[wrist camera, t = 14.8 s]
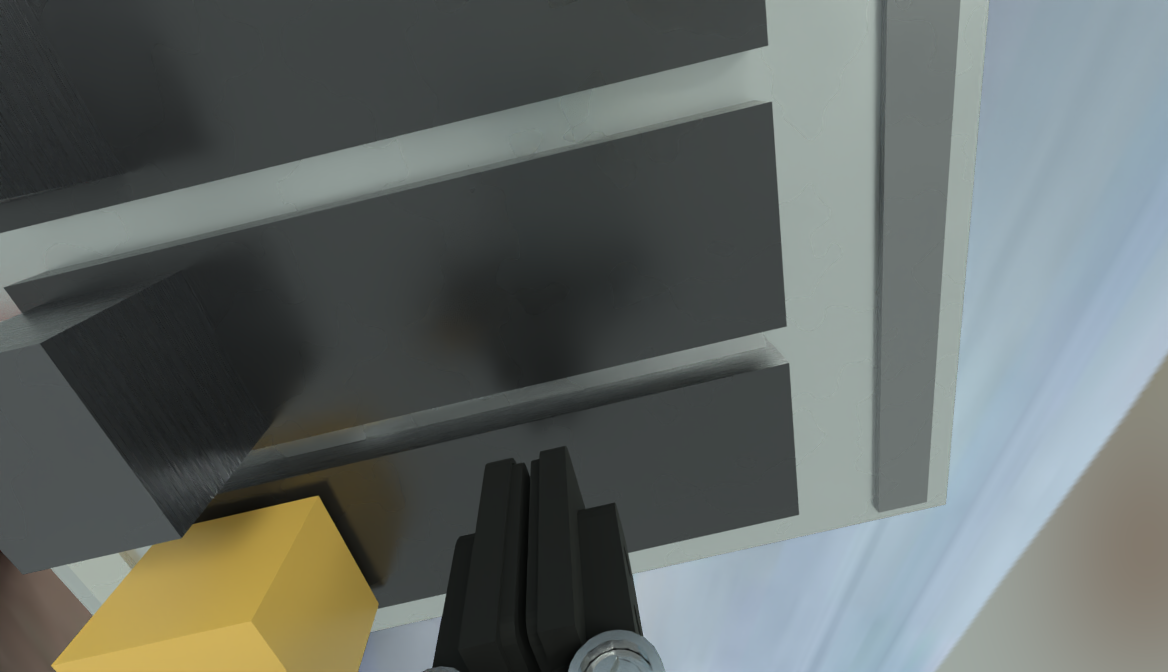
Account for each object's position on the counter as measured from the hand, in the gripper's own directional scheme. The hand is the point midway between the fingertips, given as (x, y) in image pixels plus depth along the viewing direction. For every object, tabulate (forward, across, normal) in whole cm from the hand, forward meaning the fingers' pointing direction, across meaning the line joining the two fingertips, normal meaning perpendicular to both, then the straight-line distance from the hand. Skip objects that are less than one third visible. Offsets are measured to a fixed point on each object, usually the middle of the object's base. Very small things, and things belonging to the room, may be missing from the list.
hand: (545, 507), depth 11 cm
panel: (+6, +2, -4) cm, 7 cm away
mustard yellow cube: (+2, +8, +2) cm, 8 cm away
